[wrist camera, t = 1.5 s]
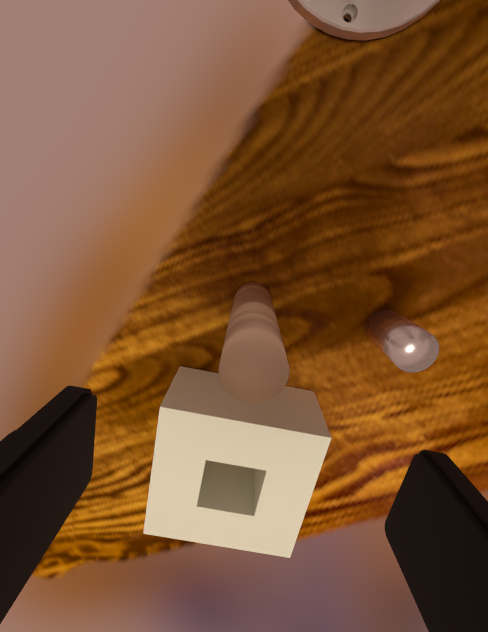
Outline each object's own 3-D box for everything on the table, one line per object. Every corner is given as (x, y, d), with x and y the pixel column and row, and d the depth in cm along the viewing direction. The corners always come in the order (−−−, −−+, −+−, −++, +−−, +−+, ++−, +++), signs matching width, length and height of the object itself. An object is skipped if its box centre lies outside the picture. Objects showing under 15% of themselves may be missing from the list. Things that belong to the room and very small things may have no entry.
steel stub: (372, 305, 24) (401, 326, 19) (407, 313, 24) (446, 335, 19) (360, 339, 25) (386, 367, 20) (395, 346, 25) (428, 375, 20)
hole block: (179, 366, 26) (159, 406, 20) (314, 391, 27) (331, 438, 21) (164, 473, 30) (143, 533, 24) (282, 493, 30) (289, 557, 24)
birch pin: (237, 279, 24) (225, 332, 12) (274, 286, 24) (296, 346, 12) (230, 314, 25) (213, 395, 13) (266, 321, 25) (280, 407, 13)
